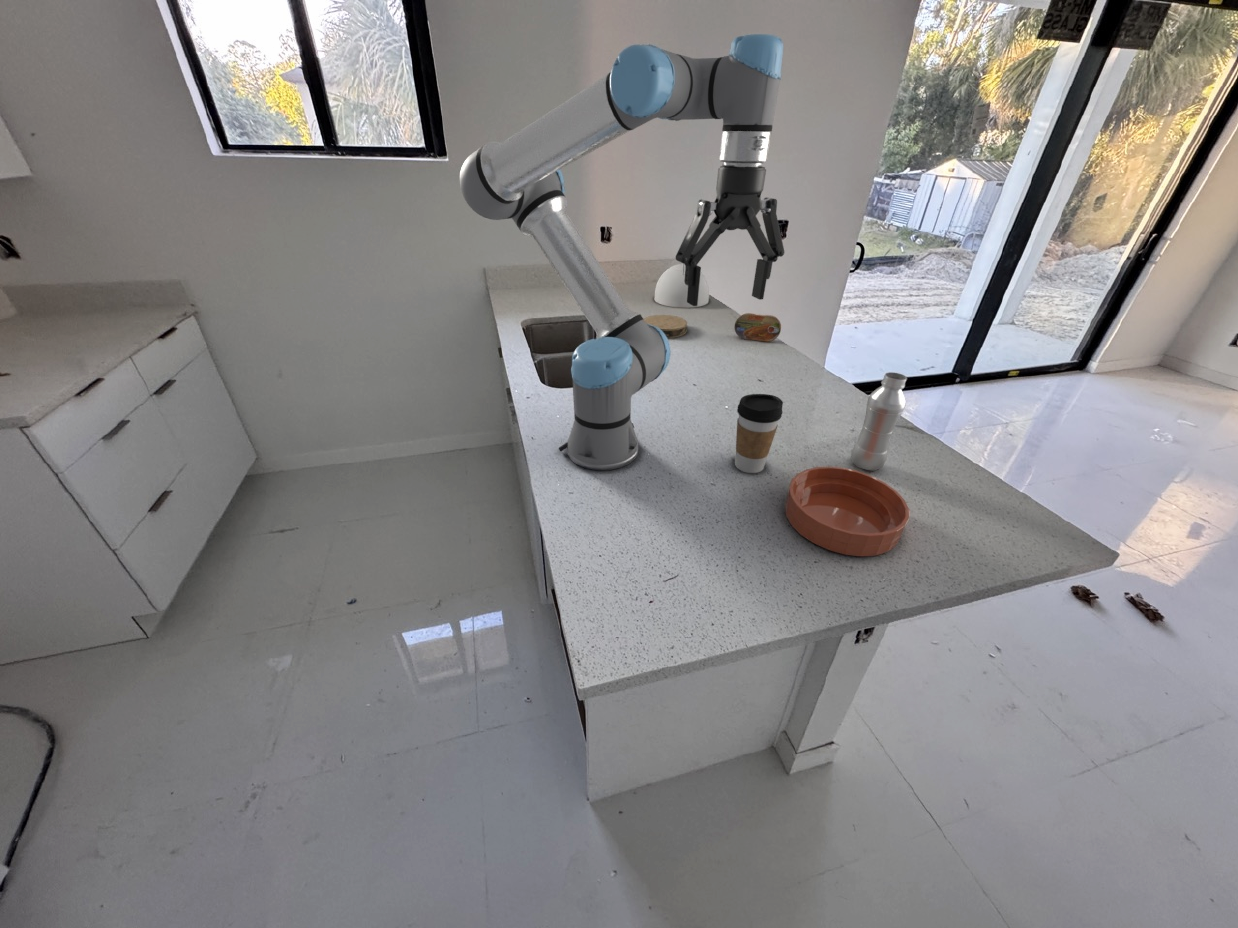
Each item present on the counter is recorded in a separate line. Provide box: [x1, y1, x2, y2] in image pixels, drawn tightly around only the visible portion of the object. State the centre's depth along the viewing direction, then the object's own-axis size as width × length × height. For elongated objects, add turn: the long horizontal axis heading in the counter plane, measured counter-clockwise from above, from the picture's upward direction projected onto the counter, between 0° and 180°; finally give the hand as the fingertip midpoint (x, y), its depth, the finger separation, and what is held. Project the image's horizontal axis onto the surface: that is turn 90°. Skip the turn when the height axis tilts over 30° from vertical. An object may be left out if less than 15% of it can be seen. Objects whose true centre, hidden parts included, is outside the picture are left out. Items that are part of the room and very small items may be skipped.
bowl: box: [784, 466, 910, 557], centre depth 85 cm, size 19×19×5 cm
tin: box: [734, 312, 782, 343], centre depth 162 cm, size 15×3×8 cm, turn 68°
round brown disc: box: [643, 314, 688, 339], centre depth 171 cm, size 16×16×3 cm
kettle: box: [653, 263, 710, 309], centre depth 199 cm, size 25×23×23 cm
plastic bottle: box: [850, 371, 908, 471], centre depth 96 cm, size 6×7×20 cm
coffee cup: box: [734, 393, 784, 474], centre depth 97 cm, size 8×8×15 cm
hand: (725, 301), depth 89 cm, fingers open, 13 cm apart
